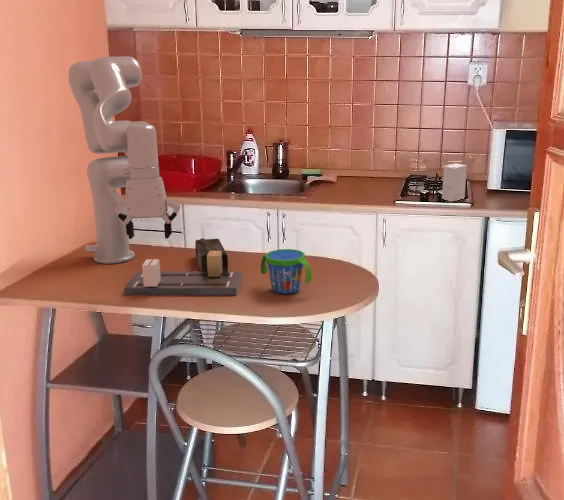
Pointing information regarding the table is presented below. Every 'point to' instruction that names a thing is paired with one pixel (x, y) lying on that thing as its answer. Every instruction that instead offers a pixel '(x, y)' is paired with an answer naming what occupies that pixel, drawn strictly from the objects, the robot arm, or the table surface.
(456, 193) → the skincare box
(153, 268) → the block
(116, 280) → the table surface
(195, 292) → the dark grey flat board
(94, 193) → the robot arm
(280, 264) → the snack cup
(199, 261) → the beverage carton
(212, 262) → the block
